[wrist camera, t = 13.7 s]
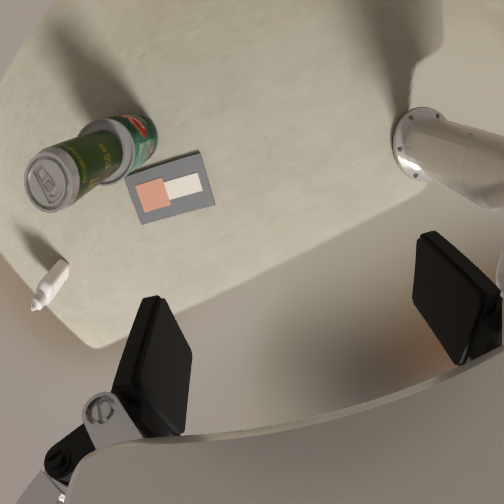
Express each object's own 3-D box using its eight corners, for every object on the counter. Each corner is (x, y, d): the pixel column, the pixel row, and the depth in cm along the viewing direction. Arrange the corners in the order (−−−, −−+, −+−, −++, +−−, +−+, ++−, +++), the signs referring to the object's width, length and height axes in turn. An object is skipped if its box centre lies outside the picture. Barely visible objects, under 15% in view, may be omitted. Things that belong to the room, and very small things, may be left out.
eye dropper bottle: (77, 274, 49) (49, 315, 38) (59, 284, 49) (32, 323, 39) (64, 255, 47) (32, 294, 36) (47, 266, 47) (16, 303, 37)
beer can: (75, 148, 28) (13, 177, 18) (109, 119, 27) (49, 134, 17) (100, 184, 31) (46, 227, 20) (134, 158, 30) (86, 191, 19)
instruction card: (200, 152, 40) (199, 153, 40) (215, 203, 44) (214, 205, 44) (124, 176, 41) (123, 177, 40) (142, 223, 45) (141, 225, 44)
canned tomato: (155, 108, 37) (130, 111, 27) (161, 161, 41) (139, 181, 31) (105, 118, 37) (68, 126, 27) (112, 168, 40) (80, 190, 31)
